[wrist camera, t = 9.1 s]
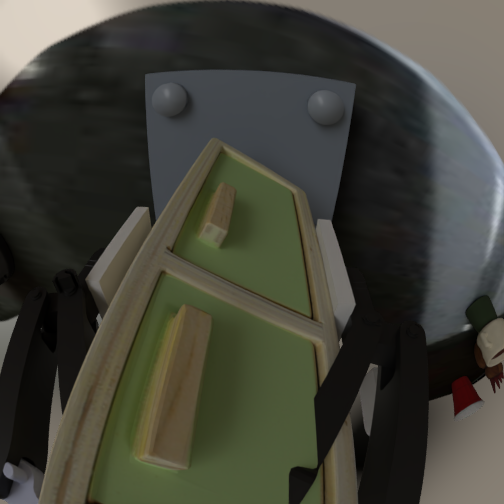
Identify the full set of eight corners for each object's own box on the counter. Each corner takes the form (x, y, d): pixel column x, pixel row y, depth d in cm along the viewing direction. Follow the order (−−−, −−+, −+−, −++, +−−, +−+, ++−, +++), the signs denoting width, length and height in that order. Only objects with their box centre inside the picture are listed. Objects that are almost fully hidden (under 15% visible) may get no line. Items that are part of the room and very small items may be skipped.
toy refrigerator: (315, 184, 20) (381, 551, 3) (260, 252, 24) (238, 542, 7) (219, 125, 18) (15, 530, 1) (174, 205, 22) (49, 497, 5)
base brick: (174, 215, 36) (156, 248, 30) (167, 71, 25) (140, 74, 19) (316, 226, 36) (324, 261, 30) (339, 80, 25) (359, 85, 19)
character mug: (451, 313, 45) (475, 367, 34) (474, 286, 41) (503, 341, 30) (478, 320, 46) (500, 367, 36) (498, 297, 42) (524, 344, 32)
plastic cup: (479, 370, 61) (490, 402, 51) (457, 389, 67) (465, 419, 58) (462, 370, 59) (474, 405, 50) (438, 389, 66) (447, 422, 56)
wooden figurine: (467, 350, 53) (486, 399, 41) (474, 337, 50) (495, 388, 38) (487, 343, 52) (506, 389, 40) (494, 329, 49) (516, 378, 37)
